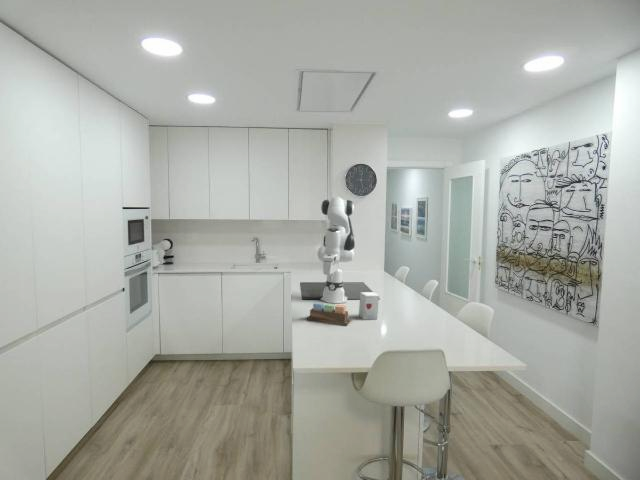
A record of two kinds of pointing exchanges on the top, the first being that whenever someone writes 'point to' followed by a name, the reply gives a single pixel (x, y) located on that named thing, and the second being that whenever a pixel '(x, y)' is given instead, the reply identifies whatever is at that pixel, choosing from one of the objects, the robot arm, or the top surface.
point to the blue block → (318, 306)
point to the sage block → (329, 307)
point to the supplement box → (368, 305)
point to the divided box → (329, 317)
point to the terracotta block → (340, 309)
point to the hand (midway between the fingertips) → (330, 280)
